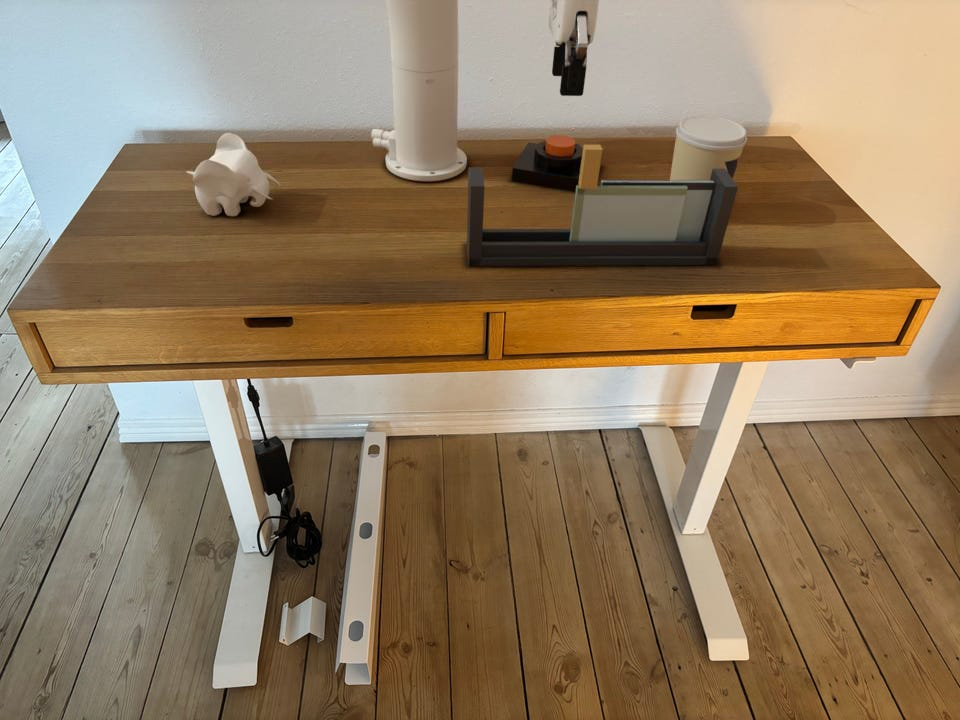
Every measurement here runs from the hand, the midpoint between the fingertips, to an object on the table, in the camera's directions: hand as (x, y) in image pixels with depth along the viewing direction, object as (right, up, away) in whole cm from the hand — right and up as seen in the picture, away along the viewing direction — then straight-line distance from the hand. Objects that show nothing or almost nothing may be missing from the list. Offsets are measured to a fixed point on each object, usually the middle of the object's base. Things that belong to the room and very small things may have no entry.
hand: (566, 84), depth 104 cm
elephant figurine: (-46, -18, -3) cm, 50 cm away
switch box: (0, -11, +9) cm, 14 cm away
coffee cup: (+19, -17, +2) cm, 26 cm away
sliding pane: (+6, -25, -10) cm, 28 cm away
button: (0, -8, +7) cm, 10 cm away
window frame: (+2, -26, -9) cm, 27 cm away
